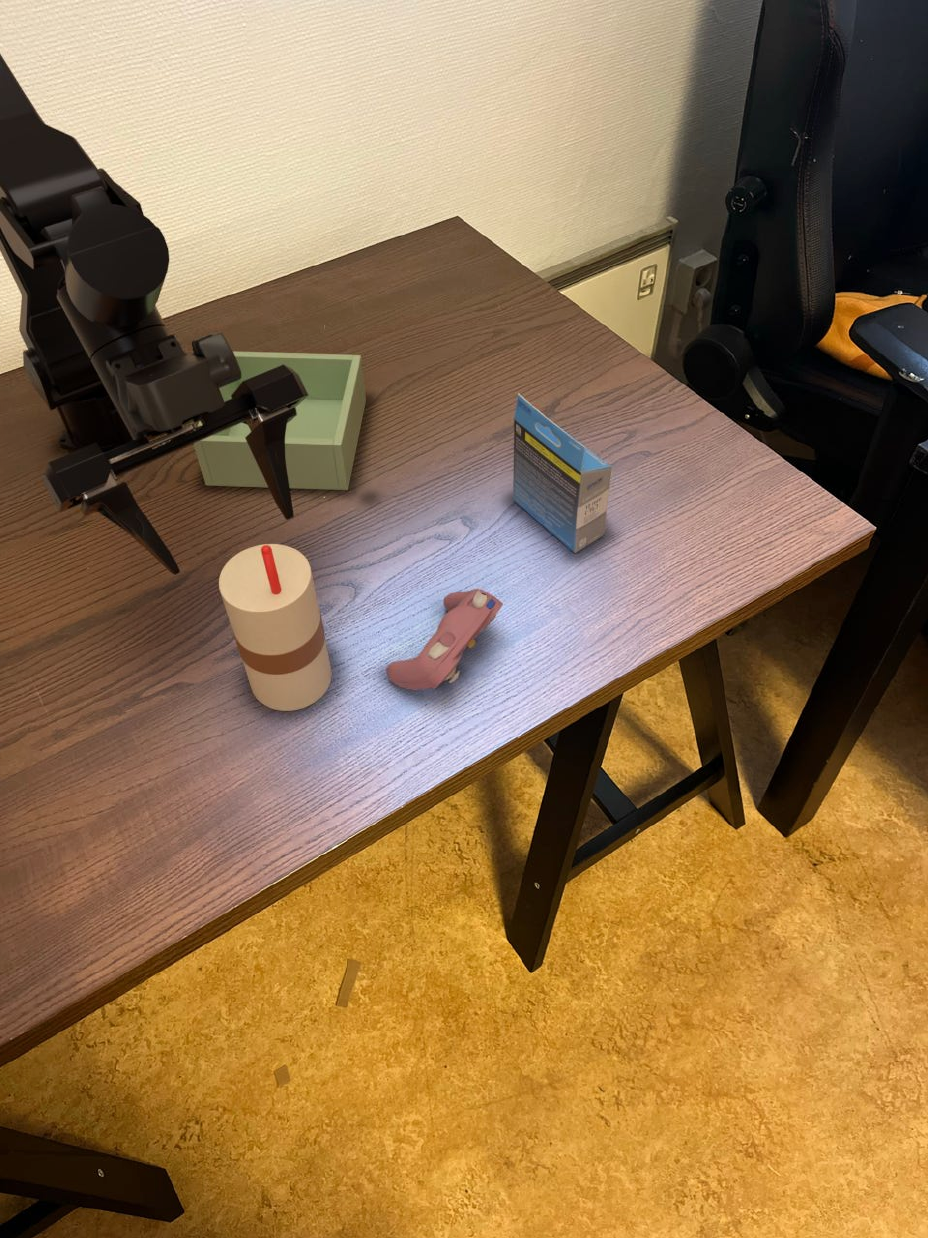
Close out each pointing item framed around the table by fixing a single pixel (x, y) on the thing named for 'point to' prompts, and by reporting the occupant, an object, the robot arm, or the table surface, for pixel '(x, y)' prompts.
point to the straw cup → (277, 625)
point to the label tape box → (558, 479)
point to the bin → (296, 425)
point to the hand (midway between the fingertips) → (235, 545)
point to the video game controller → (447, 641)
